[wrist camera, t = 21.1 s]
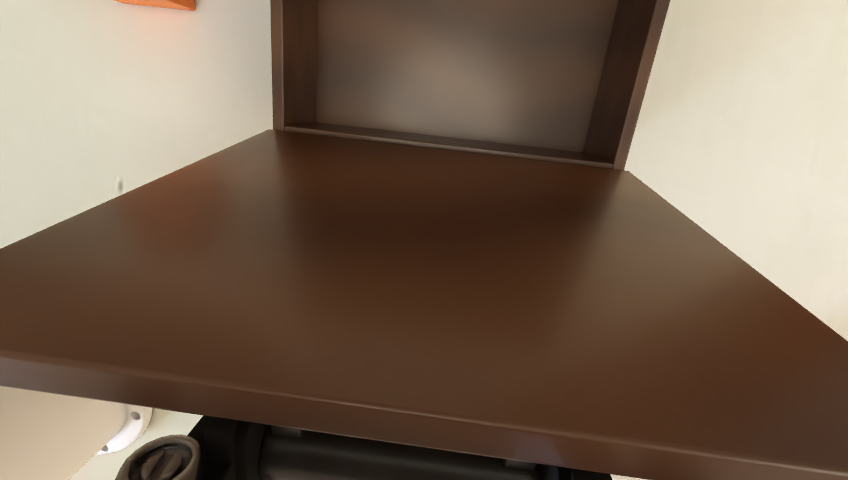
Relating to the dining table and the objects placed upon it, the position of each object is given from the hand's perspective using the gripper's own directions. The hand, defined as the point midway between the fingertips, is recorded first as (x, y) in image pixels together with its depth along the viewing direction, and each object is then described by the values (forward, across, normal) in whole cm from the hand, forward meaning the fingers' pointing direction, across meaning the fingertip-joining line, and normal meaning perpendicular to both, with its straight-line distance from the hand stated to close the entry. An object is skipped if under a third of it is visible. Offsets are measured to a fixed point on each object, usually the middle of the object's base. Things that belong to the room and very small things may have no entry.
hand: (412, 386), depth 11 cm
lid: (+3, 0, -5) cm, 5 cm away
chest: (+17, 0, -13) cm, 21 cm away
